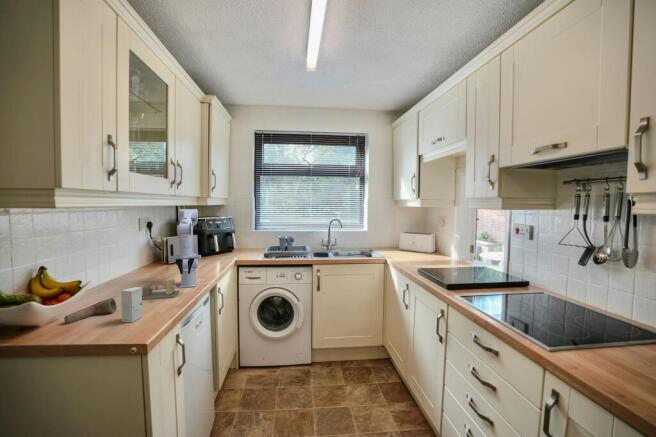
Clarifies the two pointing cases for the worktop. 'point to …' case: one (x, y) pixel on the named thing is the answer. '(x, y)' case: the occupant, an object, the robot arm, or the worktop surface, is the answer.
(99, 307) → the pipe
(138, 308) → the skincare box
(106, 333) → the worktop surface
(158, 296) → the rail
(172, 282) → the collar
